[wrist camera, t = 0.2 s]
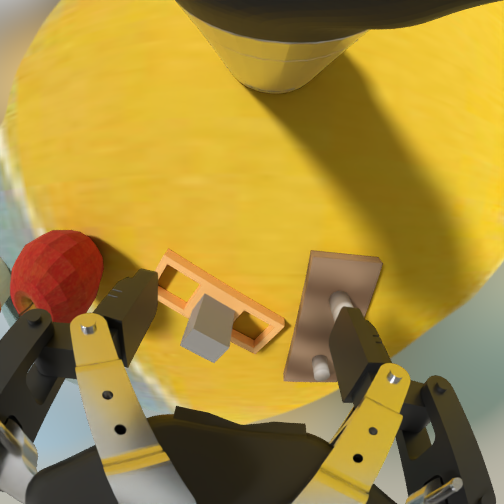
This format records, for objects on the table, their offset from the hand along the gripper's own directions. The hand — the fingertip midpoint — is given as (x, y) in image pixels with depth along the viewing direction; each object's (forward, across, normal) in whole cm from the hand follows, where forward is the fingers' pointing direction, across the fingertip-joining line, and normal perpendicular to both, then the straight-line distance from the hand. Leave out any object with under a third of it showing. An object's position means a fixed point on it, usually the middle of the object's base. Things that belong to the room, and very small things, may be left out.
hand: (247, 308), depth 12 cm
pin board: (+18, -12, +13) cm, 25 cm away
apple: (+18, +20, +9) cm, 29 cm away
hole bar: (+18, +3, +12) cm, 22 cm away
